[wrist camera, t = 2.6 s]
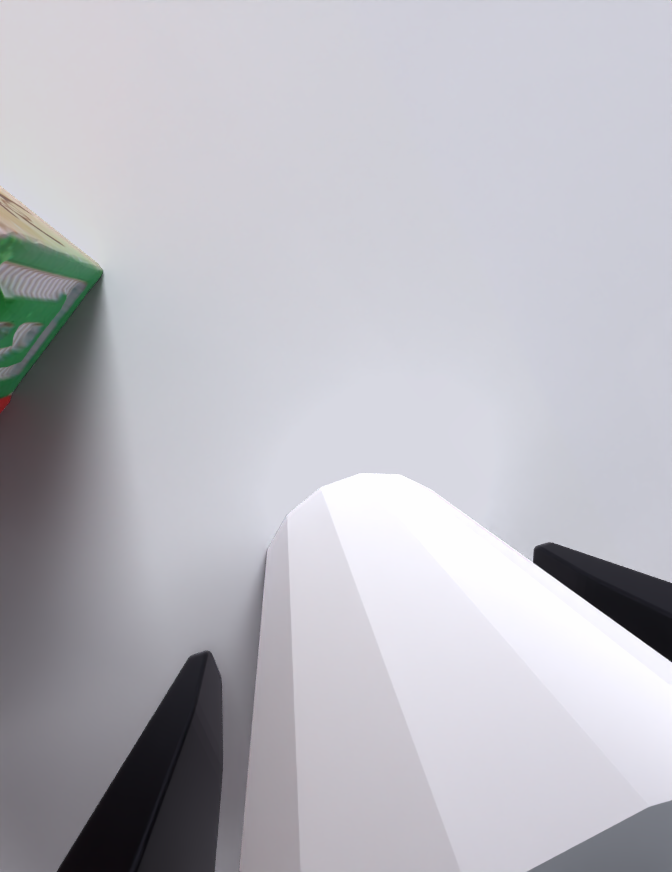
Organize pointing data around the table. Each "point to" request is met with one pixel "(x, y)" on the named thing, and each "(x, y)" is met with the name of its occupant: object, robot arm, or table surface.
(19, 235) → the stack of blocks
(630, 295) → the table surface
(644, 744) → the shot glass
